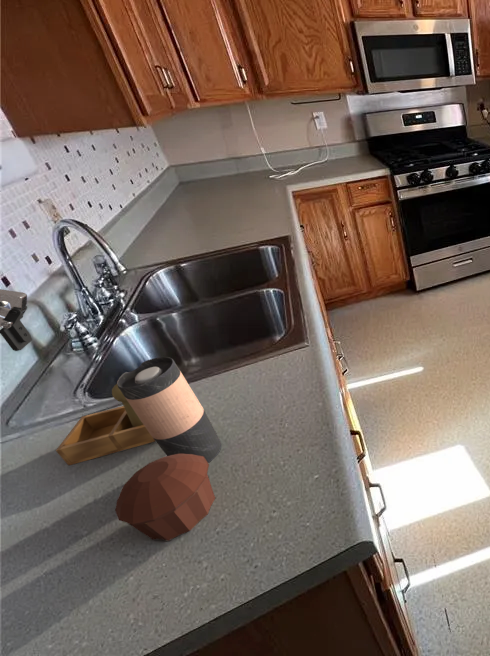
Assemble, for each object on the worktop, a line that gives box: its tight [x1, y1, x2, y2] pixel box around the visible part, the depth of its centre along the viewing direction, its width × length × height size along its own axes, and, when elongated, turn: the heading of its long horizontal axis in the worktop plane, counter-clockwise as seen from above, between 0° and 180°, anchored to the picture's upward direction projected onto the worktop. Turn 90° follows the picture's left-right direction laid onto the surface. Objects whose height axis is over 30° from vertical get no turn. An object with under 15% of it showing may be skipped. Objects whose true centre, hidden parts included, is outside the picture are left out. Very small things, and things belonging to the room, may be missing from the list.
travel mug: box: [116, 356, 222, 464], centre depth 71 cm, size 8×8×20 cm
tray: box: [55, 405, 156, 466], centre depth 81 cm, size 16×9×4 cm, turn 109°
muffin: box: [114, 454, 216, 542], centre depth 64 cm, size 12×11×10 cm
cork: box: [111, 383, 144, 427], centre depth 80 cm, size 6×6×11 cm
